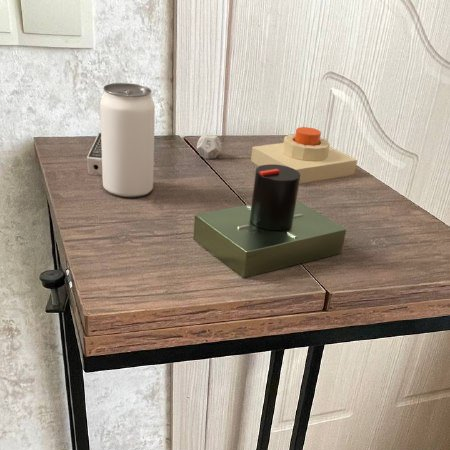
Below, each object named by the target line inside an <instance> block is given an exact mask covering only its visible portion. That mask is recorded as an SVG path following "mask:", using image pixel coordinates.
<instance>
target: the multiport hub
mask: <svg viewBox="0 0 450 450" xmlns="http://www.w3.org/2000/svg"><path fill="white" fill-rule="evenodd" d="M86 162H87V163H86V164H87V174H88V175H89V176H99V177H103V174H102V146H101V132H98V133H97V135H96V137H95V140H94V141H93V144H92V146H91V147H90V150H89V152H88V154H87V156H86Z"/></svg>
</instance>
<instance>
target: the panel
mask: <svg viewBox="0 0 450 450" xmlns="http://www.w3.org/2000/svg"><path fill="white" fill-rule="evenodd" d="M251 206H252V203H250V204H243V205H238V206H233V207H228V208H227V207H226V208H222V209H217V210H212V211H206V212H201V213H196V214H194V220H193V221H194V222H193V223H194V224H193V241H195V242H196V243H197V244H199V245H200V246H201V247H203V248H204V249H205V250H207V252H209V253H211V254H212V255H213V256H214V257H216V258H217V259H218V260H220V262H222V263H223V264H225V265H226V266H227V267H228V268H229V269H231V270H232V271H233V272H235V273H236V274H238V275H239V276H240V277H241V278H243V279H244V278H250V277H254V276H257V275H260V274H261V275H262V274H264V273H269V272H273V271H277V270H281V269H284V268H289V267H292V266H296V265H300V264H304V263H308V262H313V261H316V260H320V259H324V258H328V257H332V256H336V255H340V254H342V252H343V247H344V243H345V237H346V233H347V228H345V227H344V226H342V225H341V224H339V223H337V222H336V221H334V220H332V219H330V218H329V217H327V216H325V215H323V214H322V213H320V212H318V211H316V210H315V209H314V208H311V207H310V206H308V205H307V204H305V203H304V202H301V200H298V199H297V200H296V206H295V212H294V218H293V224H292V226H291V227H290V228H288V229H285V230H268V229H263V228H260V227H258V226H256V225H254V224H253V223H252V222H251V221H250V214H251Z"/></svg>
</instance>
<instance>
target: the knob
mask: <svg viewBox="0 0 450 450" xmlns="http://www.w3.org/2000/svg"><path fill="white" fill-rule="evenodd" d="M299 182H300V173H299V172H298V171H297V170H295V169H293V168H290V167H287V166H283V165H274V164H269V165H262V166H257V167H256V169H255V174H254V182H253V188H252V189H253V191H252V199H251V204H252V206H251V214H250V221H251V222H252V223H253V224H254V225H256V226H258V227H260V228H263V229H268V230H285V229H288V228H290V227H291V226H292V224H293V218H294V212H295V206H296V200H298V193H299V188H300V187H299V186H300V184H299Z"/></svg>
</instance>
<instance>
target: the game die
mask: <svg viewBox="0 0 450 450" xmlns="http://www.w3.org/2000/svg"><path fill="white" fill-rule="evenodd" d="M196 144H197V145H196V150H197V152H198V154H199V156H200V157H202V158H205V159H207V160H209V159H210V160H211V159H216V158H217V157H218V156H219V154H220V153H221V151H222V150H221V149H222V143H221V140H220V139H219V137H218V135H216V134H213V133H203V134H202V135H201V136H200V138H199V139H198V141H197V143H196Z"/></svg>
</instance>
